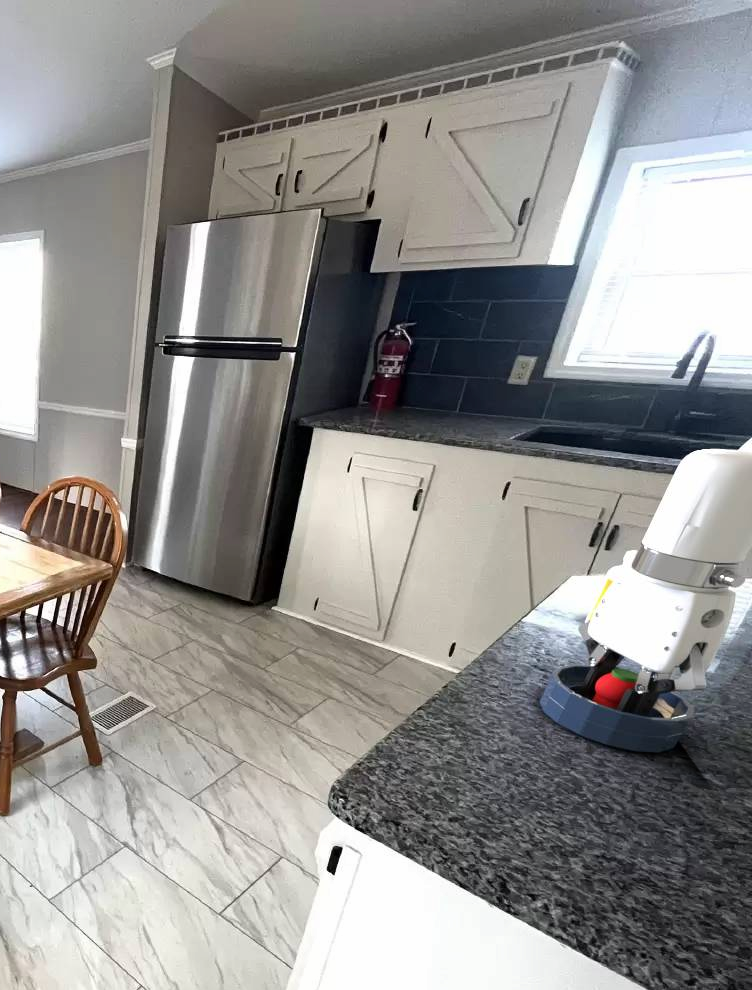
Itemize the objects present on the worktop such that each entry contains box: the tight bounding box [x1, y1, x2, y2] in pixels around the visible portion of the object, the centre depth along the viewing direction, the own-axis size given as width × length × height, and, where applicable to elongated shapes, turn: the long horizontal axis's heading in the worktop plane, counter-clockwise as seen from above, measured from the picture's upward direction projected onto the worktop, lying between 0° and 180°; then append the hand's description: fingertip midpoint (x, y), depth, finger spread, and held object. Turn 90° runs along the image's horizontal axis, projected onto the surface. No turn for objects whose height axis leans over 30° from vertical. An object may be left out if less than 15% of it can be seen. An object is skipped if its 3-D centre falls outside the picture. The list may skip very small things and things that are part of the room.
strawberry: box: [592, 668, 639, 710], centre depth 75 cm, size 4×4×5 cm
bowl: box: [539, 663, 695, 753], centre depth 76 cm, size 12×12×5 cm
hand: (611, 705), depth 76 cm, fingers closed on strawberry, 3 cm apart
